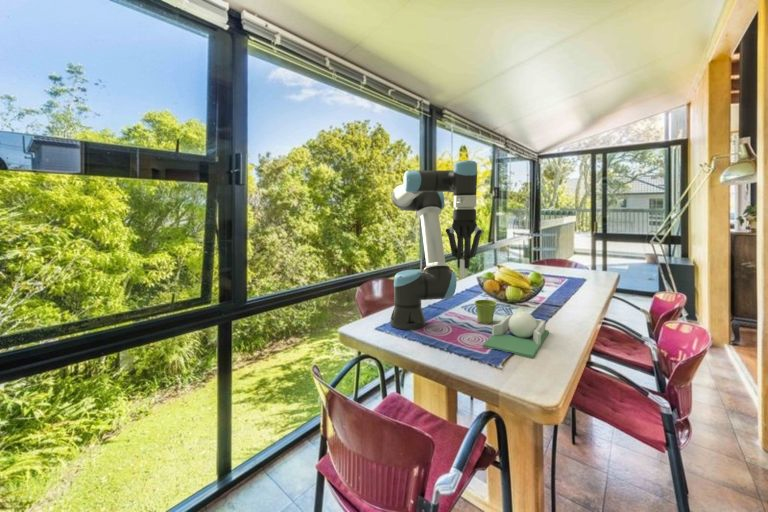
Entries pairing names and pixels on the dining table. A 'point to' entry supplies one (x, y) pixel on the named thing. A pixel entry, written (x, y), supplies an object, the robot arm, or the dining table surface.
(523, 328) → the ball
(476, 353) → the dining table surface
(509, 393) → the dining table surface
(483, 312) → the plant pot
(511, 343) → the green tray
